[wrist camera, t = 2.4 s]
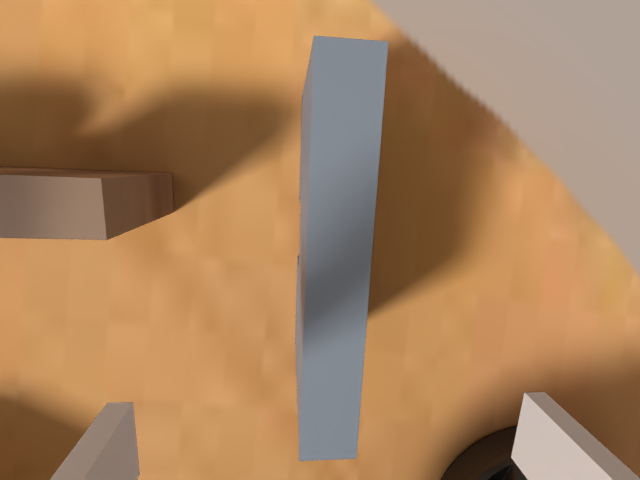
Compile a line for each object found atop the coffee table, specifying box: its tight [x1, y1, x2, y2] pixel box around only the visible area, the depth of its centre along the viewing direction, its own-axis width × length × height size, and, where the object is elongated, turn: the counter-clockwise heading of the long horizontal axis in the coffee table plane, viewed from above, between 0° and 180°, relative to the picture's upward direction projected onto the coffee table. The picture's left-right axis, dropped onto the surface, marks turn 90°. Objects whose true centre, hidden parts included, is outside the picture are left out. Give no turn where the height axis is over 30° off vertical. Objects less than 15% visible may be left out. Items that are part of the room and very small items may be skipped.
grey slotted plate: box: [295, 36, 388, 461], centre depth 17 cm, size 2×16×10 cm, turn 178°
